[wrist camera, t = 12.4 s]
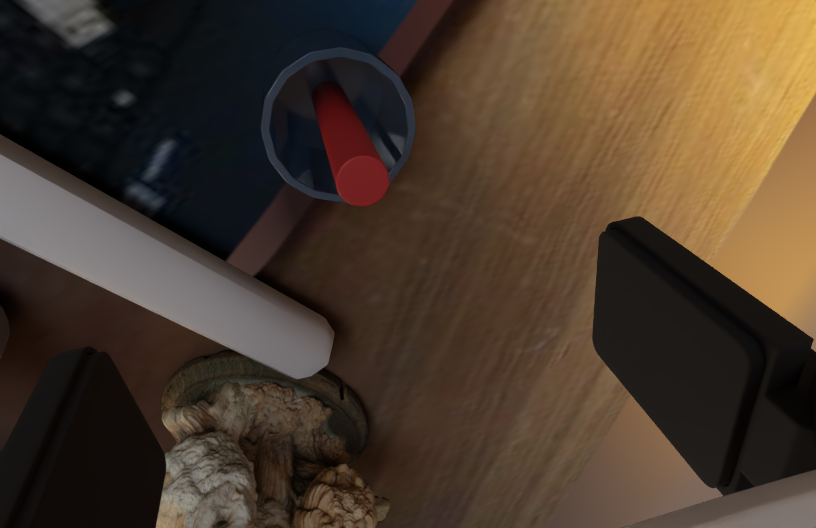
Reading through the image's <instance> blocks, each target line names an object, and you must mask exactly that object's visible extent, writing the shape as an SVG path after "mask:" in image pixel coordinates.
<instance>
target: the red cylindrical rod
mask: <svg viewBox="0 0 816 528" xmlns="http://www.w3.org/2000/svg"><path fill="white" fill-rule="evenodd" d="M312 103H313V107H314V110H315V114H316V117H317V121H318V124H319V128H320V131H321V135H322V138H323V142H324V145H325V149H326V152H327V156H328V159H329V163H330V166H331V170H332V174H333V177H334V181H335V184H336V188H337V191H338V193H339V195H340V196H341V197H342V198H343V199H344V200H345V201H346V202H348V203H349V204H352V205H355V206H369V205H372V204H374V203H376V202H378V201H379V200H380V199H381V198H382V197H383V196H384V195H385V193H386V191H387V189H388V186H389V173H388V170H387V168H386V166H385V164H384V163H383V161H382V159H381V157H380V155H379V154H378V152H377V150H376V148H375V146H374V144H373V143H372V141H371V139H370V137H369V135H368V134H367V132H366V130H365V128H364V126H363V124H362V123H361V121H360V119H359V117H358V115H357V113H356V112H355V110H354V108H353V106H352V104H351V103H350V101H349V99H348V97H347V95H346V93H345V92H344V90H343V88H342V87H341V86H340V85H339V84H337V83H335V82H333V81H324V82H322V83H320V84H318V85H317V86H316V87H315V89H314V90H313V93H312Z"/></svg>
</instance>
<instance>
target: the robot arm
mask: <svg viewBox="0 0 816 528" xmlns="http://www.w3.org/2000/svg"><path fill="white" fill-rule="evenodd" d="M592 339H593V344H594V347H595V350H596V352H597V353H598V355H599V356H600V357H601V359H602V360H603V361H604V362H605V364H606V365H607V366H608V367H609V368H610V370H611V371H612V372H613V373H614V374H615V376H616V377H617V378H618V379H619V381H620V382H621V383H622V384H623V385H624V387H625V388H626V389H627V390H628V391H629V393H630V394H631V395H632V396H633V397H634V399H635V400H636V401H637V402H638V403H639V404H640V406H641V407H642V408H643V410H644V411H645V412H646V413H647V414H648V416H649V417H650V418H651V419H652V421H653V422H654V423H655V424H656V425H657V427H658V428H659V429H660V430H661V431H662V433H663V434H664V435H665V436H666V438H667V439H668V440H669V441H670V442H671V444H672V445H673V446H674V447H675V448H676V450H677V451H678V452H679V453H680V455H681V456H682V457H683V458H684V459H685V461H686V462H687V463H688V464H689V465H690V467H691V468H692V469H693V470H694V472H695V473H696V474H697V475H698V476H699V478H700V479H701V480H702V481H703V482H704V483H705V484H706V485H707V486H709V487H711V488H717V489H718V490H719V491H720V492H721V494H722V495H723V496H722V497H719V498H715V499H712V500H709V501H706V502H703V503H700V504H696V505H693V506H690V507H687V508H684V509H680V510H677V511H674V512H670V513H667V514H664V515H661V516H657V517H654V518H651V519H648V520H644V521H641V522H638V523H635V524H632V525H629V526H625V527H622V528H816V352H815V351H814V350H812V349H811V346H812V343H813V340H814V339H813V338H811V337H810V336H808V335H807V334H805V333H804V332H803V331H801V330H800V329H798V328H797V327H796V326H794V325H793V324H792V323H790V322H789V321H787V320H786V319H784V318H783V317H781V316H780V315H779V314H778V313H776V312H775V311H773V310H772V309H770V308H769V307H768V306H766V305H765V304H763V303H762V302H760V301H759V300H758V299H756V298H755V297H754V296H752V295H751V294H749V293H748V292H747V291H745V290H744V289H742V288H741V287H739V286H738V285H737V284H735V283H734V282H732V281H731V280H730V279H728V278H727V277H725V276H724V275H723V274H721V273H720V272H718V271H717V270H715V269H714V268H713V267H711V266H710V265H709V264H707V263H706V262H704V261H703V260H701V259H700V258H699V257H697V256H696V255H694V254H693V253H692V252H690V251H689V250H687V249H686V248H685V247H683V246H682V245H680V244H679V243H678V242H676V241H675V240H673V239H672V238H671V237H669V236H668V235H666V234H665V233H663V232H662V231H661V230H659V229H658V228H656V227H655V226H654V225H652V224H651V223H649V222H648V221H647V220H645V219H644V218H642V217H640V216H639V217H632V218H628V219H624V220H620V221H615V222H611V223H610V224H608V226H607V228H606V231H605V232H602V233H601V235H600V237H599V246H598V261H597V276H596V290H595V305H594V320H593V335H592ZM165 475H166V459H165V455H164V452H163V450H162V448H161V446H160V445H159V443H158V441H157V439H156V437H155V436H154V434H153V432H152V430H151V429H150V427H149V425H148V423H147V421H146V420H145V418H144V416H143V414H142V413H141V411H140V409H139V407H138V405H137V404H136V402H135V400H134V398H133V396H132V395H131V393H130V391H129V389H128V388H127V386H126V384H125V382H124V380H123V379H122V377H121V375H120V373H119V372H118V370H117V368H116V366H115V364H114V363H113V361H112V359H111V357H110V356H109V355H108V354H107V353H106V352H99V353H98V352H97V351H96V350H95V349H94V348H93V347H89V346H88V347H84V348H80V349H76V350H71V351H67V352H63V353H59V354H55V355H53V356H52V357H51V358H50V360H49V361H48V363H47V365H46V367H45V369H44V371H43V373H42V375H41V377H40V379H39V381H38V383H37V385H36V387H35V388H34V390H33V392H32V394H31V396H30V398H29V400H28V402H27V404H26V406H25V408H24V410H23V412H22V414H21V415H20V417H19V419H18V421H17V423H16V425H15V427H14V429H13V431H12V433H11V435H10V437H9V439H8V441H7V442H6V444H5V446H4V448H3V450H2V452H1V454H0V528H156V523H157V518H158V513H159V507H160V502H161V496H162V491H163V486H164V480H165Z"/></svg>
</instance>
